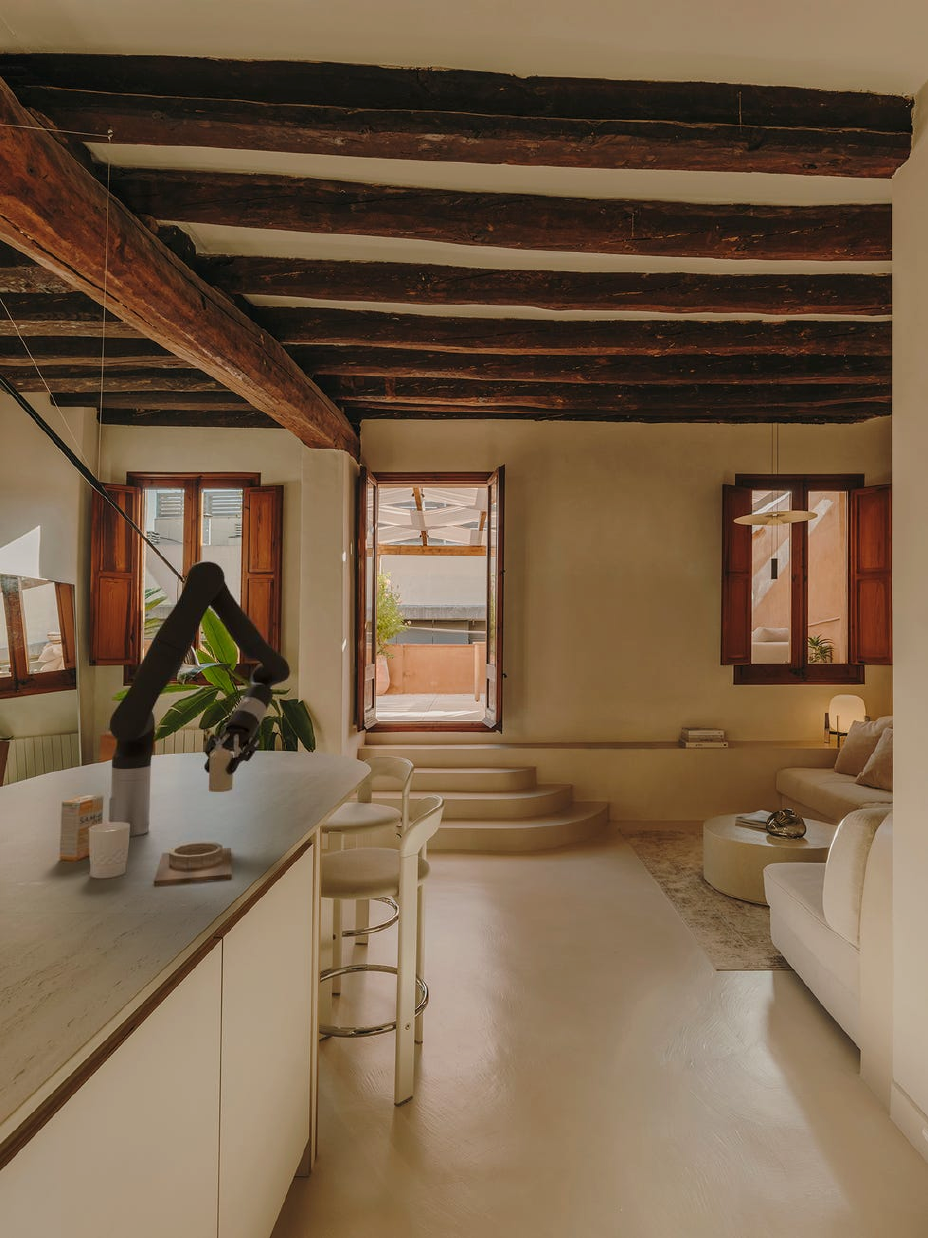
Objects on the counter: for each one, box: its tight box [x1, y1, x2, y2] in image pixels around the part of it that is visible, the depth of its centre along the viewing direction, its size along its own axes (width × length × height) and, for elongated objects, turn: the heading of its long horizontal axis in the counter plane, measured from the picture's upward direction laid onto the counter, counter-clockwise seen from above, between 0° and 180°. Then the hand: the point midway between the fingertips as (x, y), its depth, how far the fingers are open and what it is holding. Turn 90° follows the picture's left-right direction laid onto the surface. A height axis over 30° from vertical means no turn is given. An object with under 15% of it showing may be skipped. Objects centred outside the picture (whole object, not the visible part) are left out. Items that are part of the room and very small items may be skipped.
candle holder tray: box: [153, 841, 232, 887], centre depth 154 cm, size 15×20×4 cm
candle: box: [208, 748, 234, 793], centre depth 174 cm, size 6×6×10 cm
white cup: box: [89, 821, 130, 879], centre depth 150 cm, size 8×8×10 cm
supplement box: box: [59, 794, 104, 862], centre depth 162 cm, size 8×5×13 cm, turn 168°
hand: (218, 771), depth 172 cm, fingers closed on candle, 5 cm apart
